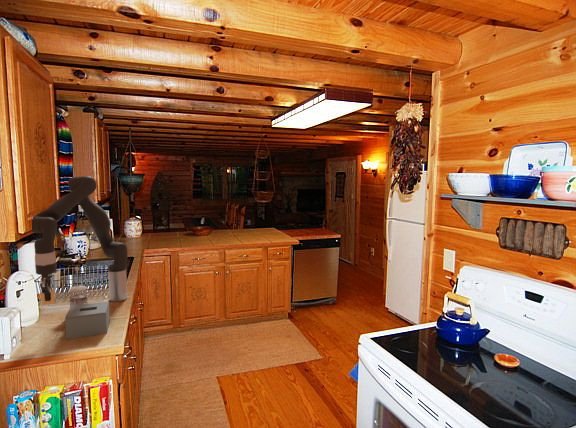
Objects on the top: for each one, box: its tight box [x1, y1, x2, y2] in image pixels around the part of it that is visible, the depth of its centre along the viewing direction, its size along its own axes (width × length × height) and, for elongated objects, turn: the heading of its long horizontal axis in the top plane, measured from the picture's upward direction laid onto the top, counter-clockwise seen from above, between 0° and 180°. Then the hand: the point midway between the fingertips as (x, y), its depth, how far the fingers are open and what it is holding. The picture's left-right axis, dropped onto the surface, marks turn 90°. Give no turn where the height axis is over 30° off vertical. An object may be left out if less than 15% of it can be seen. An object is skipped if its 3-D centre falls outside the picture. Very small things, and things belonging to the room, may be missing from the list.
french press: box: [68, 267, 89, 308], centre depth 176 cm, size 10×12×25 cm
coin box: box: [64, 300, 111, 340], centre depth 162 cm, size 14×16×10 cm
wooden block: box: [40, 288, 57, 306], centre depth 154 cm, size 2×5×6 cm, turn 113°
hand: (48, 299), depth 154 cm, fingers closed on wooden block, 1 cm apart
